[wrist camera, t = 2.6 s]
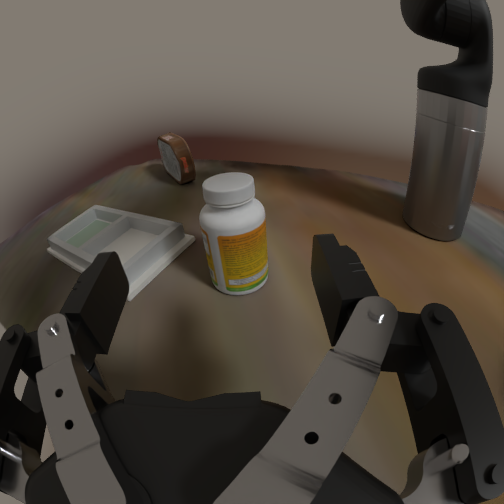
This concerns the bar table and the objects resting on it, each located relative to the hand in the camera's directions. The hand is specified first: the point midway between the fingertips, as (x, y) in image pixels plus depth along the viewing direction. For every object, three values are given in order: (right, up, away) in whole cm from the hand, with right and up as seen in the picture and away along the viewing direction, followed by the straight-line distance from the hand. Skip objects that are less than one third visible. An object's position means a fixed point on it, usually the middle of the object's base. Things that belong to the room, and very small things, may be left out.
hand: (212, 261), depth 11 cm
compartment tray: (-17, +1, +22) cm, 28 cm away
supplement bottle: (0, -2, +16) cm, 16 cm away
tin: (-12, +14, +40) cm, 44 cm away
